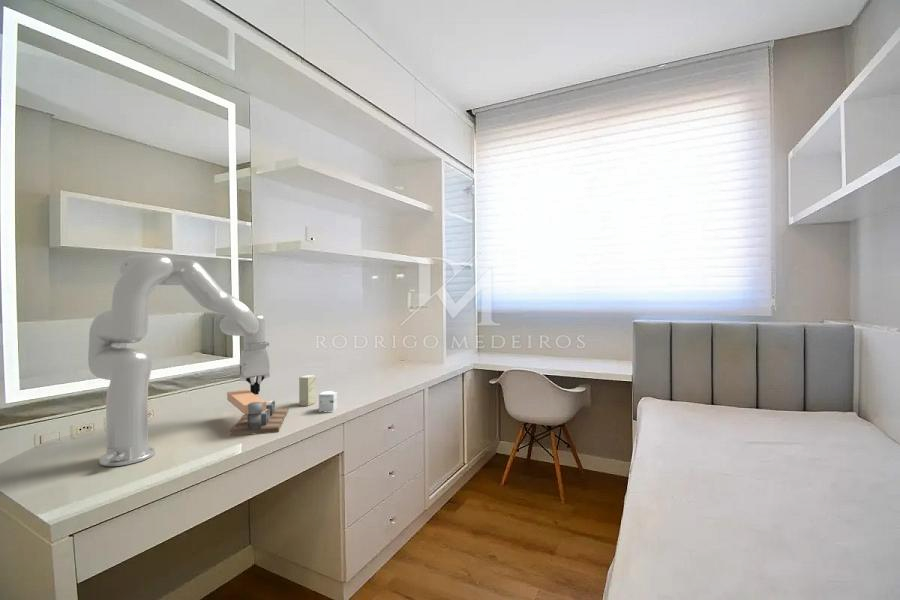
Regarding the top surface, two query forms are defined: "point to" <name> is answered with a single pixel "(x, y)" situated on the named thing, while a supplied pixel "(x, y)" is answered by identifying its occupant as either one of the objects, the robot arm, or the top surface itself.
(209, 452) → the top surface
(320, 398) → the skincare box
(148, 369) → the robot arm
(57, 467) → the top surface
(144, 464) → the top surface
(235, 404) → the swing arm
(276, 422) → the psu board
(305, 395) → the skincare box
